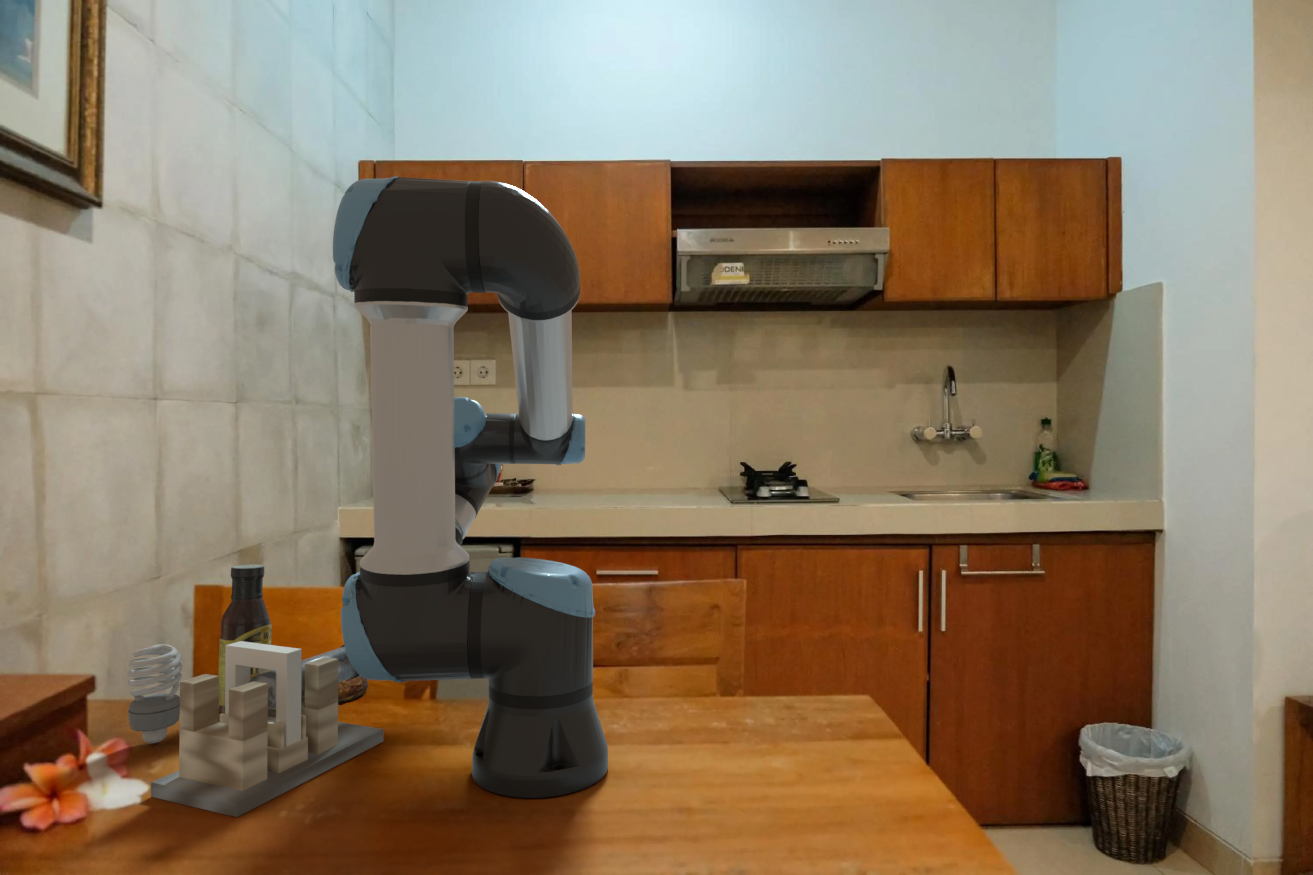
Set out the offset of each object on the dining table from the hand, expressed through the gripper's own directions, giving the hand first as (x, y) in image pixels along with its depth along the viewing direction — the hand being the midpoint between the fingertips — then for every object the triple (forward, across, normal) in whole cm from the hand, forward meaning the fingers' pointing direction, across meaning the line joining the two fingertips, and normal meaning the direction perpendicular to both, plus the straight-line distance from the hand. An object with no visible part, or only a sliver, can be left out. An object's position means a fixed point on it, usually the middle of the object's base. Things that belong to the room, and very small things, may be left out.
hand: (359, 671), depth 102 cm
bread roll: (-1, +14, -11) cm, 18 cm away
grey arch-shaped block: (+13, 0, +9) cm, 16 cm away
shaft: (+6, 0, +6) cm, 9 cm away
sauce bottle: (+7, +18, -4) cm, 19 cm away
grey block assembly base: (+15, 0, +4) cm, 15 cm away
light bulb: (+15, +19, +5) cm, 24 cm away
